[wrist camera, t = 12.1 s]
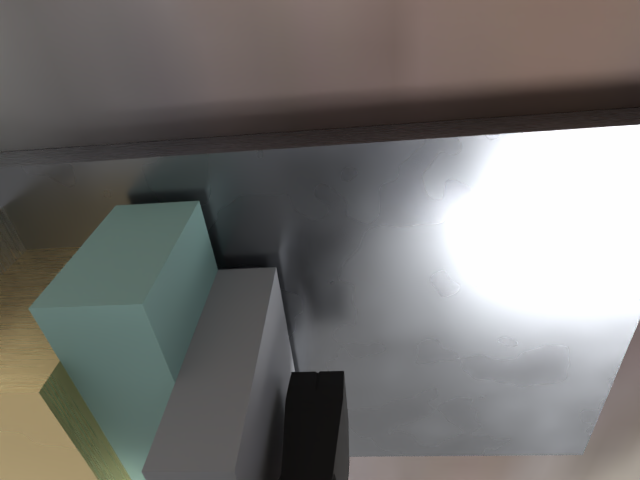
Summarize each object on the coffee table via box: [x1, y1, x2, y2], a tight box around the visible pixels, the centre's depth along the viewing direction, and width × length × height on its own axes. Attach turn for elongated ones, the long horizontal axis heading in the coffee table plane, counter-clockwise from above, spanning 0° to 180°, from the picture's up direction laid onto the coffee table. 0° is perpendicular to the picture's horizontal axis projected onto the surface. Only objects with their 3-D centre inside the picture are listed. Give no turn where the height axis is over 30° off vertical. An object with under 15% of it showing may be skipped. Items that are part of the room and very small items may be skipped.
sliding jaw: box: [28, 201, 295, 480], centre depth 11 cm, size 4×10×5 cm, turn 5°
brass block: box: [0, 247, 132, 480], centre depth 12 cm, size 3×7×4 cm, turn 5°
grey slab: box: [0, 107, 640, 457], centre depth 12 cm, size 20×12×6 cm, turn 95°
